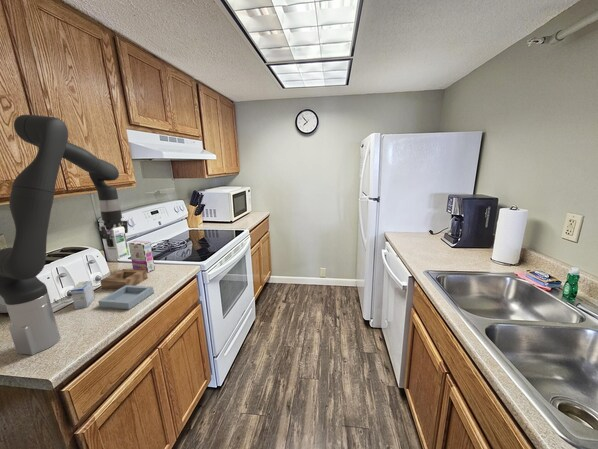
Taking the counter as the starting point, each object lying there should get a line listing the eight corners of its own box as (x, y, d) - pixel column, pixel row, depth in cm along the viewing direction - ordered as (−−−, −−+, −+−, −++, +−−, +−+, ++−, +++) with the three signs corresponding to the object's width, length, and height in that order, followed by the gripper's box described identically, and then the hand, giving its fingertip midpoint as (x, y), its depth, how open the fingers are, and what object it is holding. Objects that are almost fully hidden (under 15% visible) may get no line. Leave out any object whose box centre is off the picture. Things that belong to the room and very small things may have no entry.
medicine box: (83, 300, 110) (78, 282, 108) (95, 298, 112) (91, 280, 110) (75, 309, 103) (70, 290, 101) (88, 307, 105) (83, 288, 103)
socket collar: (126, 290, 118) (125, 281, 117) (102, 289, 120) (100, 280, 119) (147, 278, 131) (146, 270, 130) (124, 276, 133) (123, 268, 132)
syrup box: (119, 259, 116) (113, 229, 113) (108, 258, 118) (102, 228, 114) (129, 255, 122) (124, 226, 119) (119, 254, 123) (113, 225, 120)
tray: (129, 309, 102) (128, 303, 101) (99, 307, 104) (98, 301, 104) (153, 292, 116) (152, 286, 115) (126, 291, 118) (125, 285, 117)
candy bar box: (155, 269, 142) (151, 241, 138) (147, 273, 137) (143, 244, 133) (140, 267, 145) (136, 240, 142) (132, 270, 141) (127, 242, 137)
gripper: (103, 212, 107) (110, 250, 111) (130, 207, 121) (135, 240, 125) (88, 212, 108) (95, 249, 112) (116, 207, 122) (122, 240, 126)
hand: (116, 244), depth 118 cm, fingers closed on syrup box, 5 cm apart
